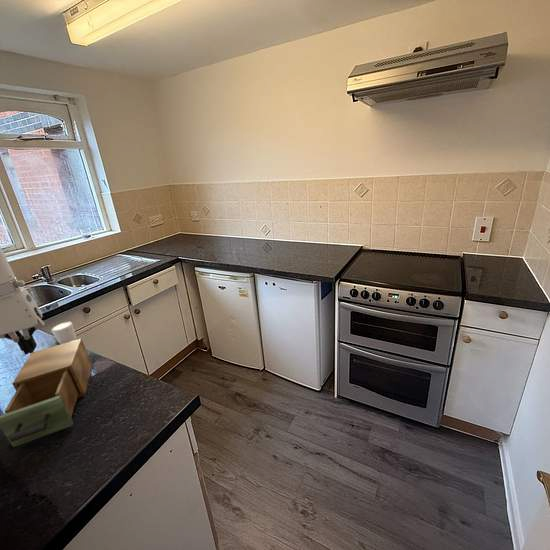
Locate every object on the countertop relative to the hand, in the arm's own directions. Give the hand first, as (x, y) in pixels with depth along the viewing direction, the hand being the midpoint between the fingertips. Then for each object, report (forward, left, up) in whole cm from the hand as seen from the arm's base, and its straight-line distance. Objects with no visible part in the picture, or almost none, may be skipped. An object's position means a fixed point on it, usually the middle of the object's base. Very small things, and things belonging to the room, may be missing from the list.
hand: (30, 350), depth 81 cm
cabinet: (+2, +4, -16) cm, 17 cm away
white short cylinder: (-3, +36, -16) cm, 39 cm away
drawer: (+2, -12, -15) cm, 19 cm away
